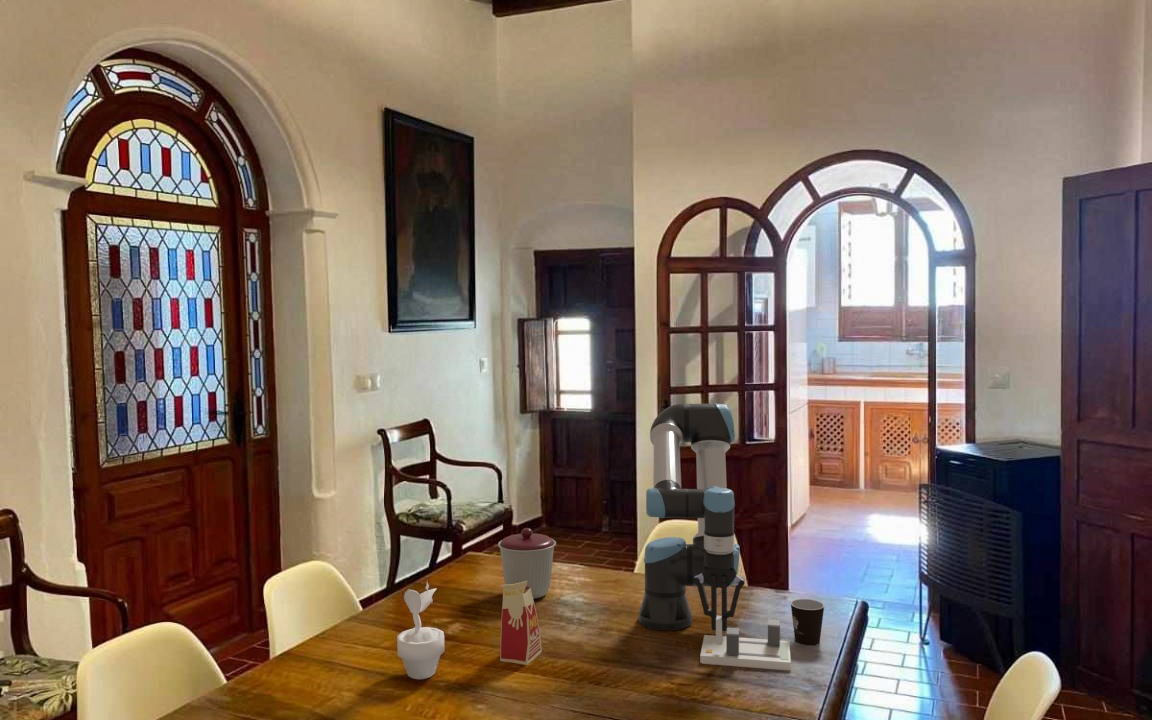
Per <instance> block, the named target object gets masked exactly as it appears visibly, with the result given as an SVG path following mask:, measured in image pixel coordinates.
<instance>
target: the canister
mask: <svg viewBox="0 0 1152 720" xmlns="http://www.w3.org/2000/svg"><path fill="white" fill-rule="evenodd" d="M556 545H557V541H556V540H554V539H553V538H551V537H549V536H548V535H546V534H542V533H534V532H533V530H532V528H530V527H524V528H523V529H522V530H521V532H520V533H517V534H511V535H509V536H506V537H504V538H503V539H501V540H500V541H498V544H497V546H498V548H499V549H500V557H501V558H500V559H501V567H502V575H503V580H504V585H508V584H516V583H520V582H524V581H527V586H528V587H530V588H531V592H532V596H533V600H536V599H539V598H542V597H544V596H546V595H547V594H548V592H549V590H550V586H551V579H552V571H553V561H554V560H553V558H554V550H555V548H554V547H555V546H556Z"/></svg>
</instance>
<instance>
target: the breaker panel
mask: <svg viewBox="0 0 1152 720" xmlns="http://www.w3.org/2000/svg"><path fill="white" fill-rule="evenodd" d="M699 656H700V657H699V659H700V660H699V662H700V663H699V664H701V663H702V664H703V665H704V664H705V665H715V666H716V665H717V666H728V667H731V666H732V667H741V668H752V669H753V668H755V669H766V670H767V669H768V670H780V671H792V669H791V668H792V666H791V665H792V659H791V645H790V640H781V639H780V646H771V645H768V638H767V639H765V638H752V637H740V636H739V655H727V654H726V635H725V636H724V635H723V642H722V645H716V635H708V634H704V635H703V640H702V645H701V650H700V655H699Z"/></svg>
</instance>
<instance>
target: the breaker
mask: <svg viewBox="0 0 1152 720" xmlns="http://www.w3.org/2000/svg"><path fill="white" fill-rule="evenodd" d="M780 621H781V620H780V619H771V618H769V619H768V618H767V639H768V645H771V646H780V640H781V622H780Z"/></svg>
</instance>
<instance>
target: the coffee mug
mask: <svg viewBox="0 0 1152 720" xmlns="http://www.w3.org/2000/svg"><path fill="white" fill-rule="evenodd" d="M790 607H791V610H790V611H791V616H792V617H791V618H792V624H793V633H794V634H793V635H794V641H795V643H796V644H798V645H801V646H807V647H809V646H810V647H812V646H817V645H819V644H820V643H821V635H822V627H823V621H824V620H823V618H824V611H825V604H824V603H823V602H822V601H818V600H817V599H816V600H815V599H811V598H810V599H809V598H798V599H794V600H791V602H790Z"/></svg>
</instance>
